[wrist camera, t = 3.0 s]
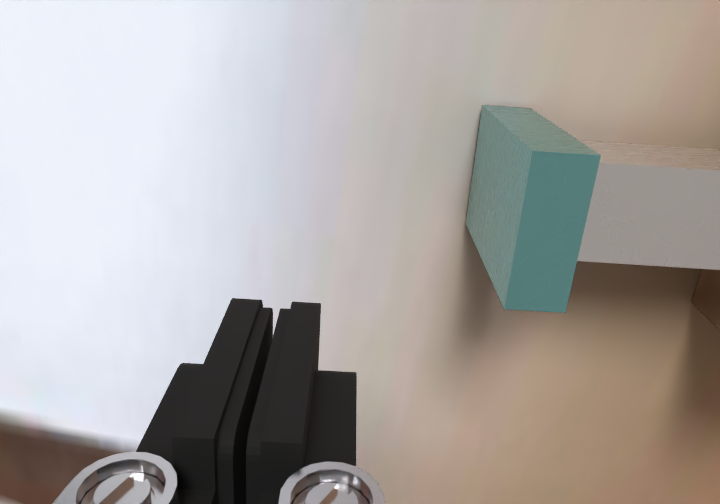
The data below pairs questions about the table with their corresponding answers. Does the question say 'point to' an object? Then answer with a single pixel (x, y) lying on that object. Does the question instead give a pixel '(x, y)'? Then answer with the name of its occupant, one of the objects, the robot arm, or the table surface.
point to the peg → (583, 206)
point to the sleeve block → (708, 295)
